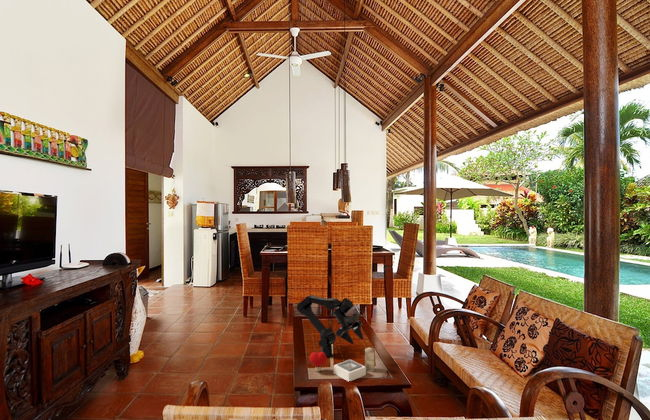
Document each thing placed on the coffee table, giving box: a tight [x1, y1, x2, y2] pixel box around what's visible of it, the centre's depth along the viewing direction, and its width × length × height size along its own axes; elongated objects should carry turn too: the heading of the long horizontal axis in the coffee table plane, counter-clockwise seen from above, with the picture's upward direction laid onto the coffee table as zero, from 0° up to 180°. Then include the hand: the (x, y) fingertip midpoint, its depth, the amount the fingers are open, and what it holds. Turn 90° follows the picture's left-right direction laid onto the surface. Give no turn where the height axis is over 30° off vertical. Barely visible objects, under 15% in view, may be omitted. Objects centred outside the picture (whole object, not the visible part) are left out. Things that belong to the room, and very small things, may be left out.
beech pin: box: [364, 347, 375, 373], centre depth 182 cm, size 5×5×11 cm
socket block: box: [333, 359, 367, 383], centre depth 177 cm, size 12×12×5 cm
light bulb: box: [309, 351, 328, 373], centre depth 180 cm, size 9×7×10 cm
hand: (357, 341), depth 187 cm, fingers open, 9 cm apart
